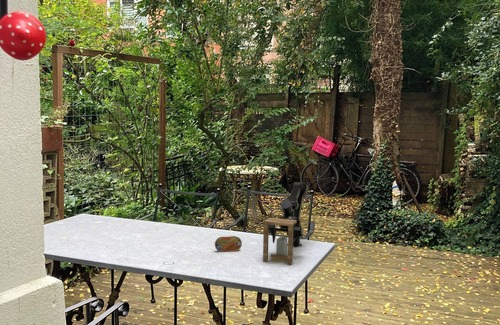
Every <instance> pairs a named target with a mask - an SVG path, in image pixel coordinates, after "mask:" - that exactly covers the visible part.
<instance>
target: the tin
mask: <svg viewBox="0 0 500 325" xmlns="http://www.w3.org/2000/svg"><path fill="white" fill-rule="evenodd" d="M242 241H243V240H242V239H241V238H240V237H238V236H235V235H230V236H219V237H218V238H216V240H215V241H214V247H215V249H216V251H218V252H220V253H228V252H229V253H232V252H237V251H239V250H240V249H241V248H242V244H243V242H242Z"/></svg>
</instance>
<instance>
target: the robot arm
mask: <svg viewBox="0 0 500 325" xmlns="http://www.w3.org/2000/svg"><path fill="white" fill-rule="evenodd" d="M308 192H309V185H308V184H307V183H303V182H300V181H299V182H297V181H295V182H293V184H292V189H291V192H290V194H289V195H288V196H287V197H285V198H284V200H282V201H281V202H280V205H279V206H280V209H281V212H282V214H283V215H282V216H279V217H278V219H288V220H297V223H296V224H294V225H293V246H294V247H295V248H297V247H301V246H302V245H303V244H302V243H301V238H302V237H303V236H304V231H303V226H302V223H301V219H300V218H301V214H302V206H303V201H304V198H305V197H306V196H307V194H308ZM277 232H284V233H286V236H288V226H284V225H278V226H277V225H274V224H269V234H270V235H271V237H272V244H275V241H276V237H277ZM300 245H301V246H300ZM287 246H288V243H287ZM294 247H293V248H294Z"/></svg>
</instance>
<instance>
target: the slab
mask: <svg viewBox="0 0 500 325" xmlns="http://www.w3.org/2000/svg"><path fill="white" fill-rule="evenodd" d="M287 244H288V236H279V237H278V238H276V248H275V249H276V250H275V252H276V253H275V255H283V256H288V245H287Z"/></svg>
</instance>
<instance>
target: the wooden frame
mask: <svg viewBox="0 0 500 325" xmlns="http://www.w3.org/2000/svg"><path fill="white" fill-rule="evenodd" d="M296 223H297V220H288V219H279V217H278V218H275V217H268V218H267V219H265V220H263V235H262V236H263V238H262V239H263V242H262V244H263V245H262V246H263V247H262V262H264V263H268V262H269V236H270V235H269V234H270V233H269V224H274V225H275V226H279V225H284V226H288V235H287V244H288V245H287V256H283V255H276V253H271V254H270V261H272V262H273V261H276V262H283V263H286V264H287V266H292V265H293V255H294V250H293V249H294V247H293V225H294V224H296Z"/></svg>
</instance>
